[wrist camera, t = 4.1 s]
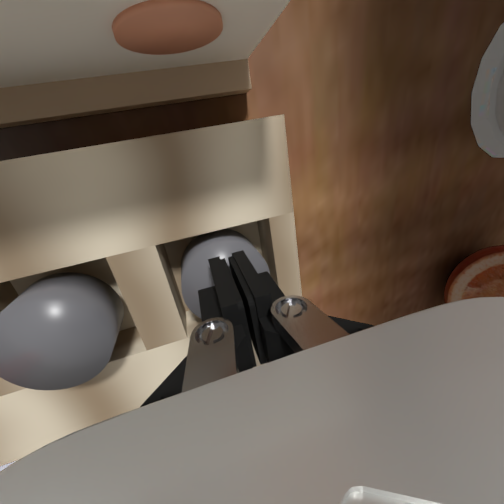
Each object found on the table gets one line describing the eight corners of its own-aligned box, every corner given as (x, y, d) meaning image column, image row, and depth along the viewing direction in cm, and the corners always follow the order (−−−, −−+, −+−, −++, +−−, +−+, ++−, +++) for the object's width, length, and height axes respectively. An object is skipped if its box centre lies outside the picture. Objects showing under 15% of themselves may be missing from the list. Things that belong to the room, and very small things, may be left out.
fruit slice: (464, 313, 25) (526, 347, 21) (412, 318, 23) (467, 357, 19) (500, 233, 22) (580, 253, 18) (444, 231, 21) (518, 253, 16)
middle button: (104, 261, 12) (86, 287, 10) (136, 333, 14) (128, 369, 11) (-2, 287, 11) (-48, 321, 9) (47, 360, 13) (19, 404, 11)
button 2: (250, 220, 14) (263, 232, 12) (261, 286, 16) (275, 308, 14) (170, 239, 13) (169, 256, 11) (192, 306, 15) (194, 333, 13)
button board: (259, 123, 14) (283, 114, 11) (287, 323, 19) (307, 356, 16) (-304, 218, 10) (-534, 248, 7) (-63, 437, 15) (-125, 510, 12)
